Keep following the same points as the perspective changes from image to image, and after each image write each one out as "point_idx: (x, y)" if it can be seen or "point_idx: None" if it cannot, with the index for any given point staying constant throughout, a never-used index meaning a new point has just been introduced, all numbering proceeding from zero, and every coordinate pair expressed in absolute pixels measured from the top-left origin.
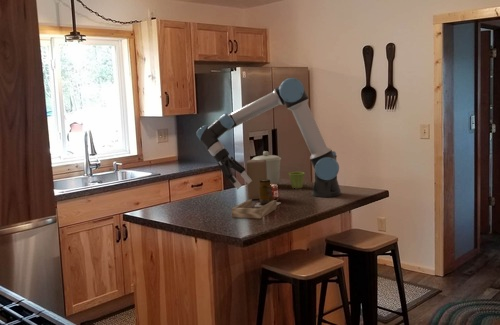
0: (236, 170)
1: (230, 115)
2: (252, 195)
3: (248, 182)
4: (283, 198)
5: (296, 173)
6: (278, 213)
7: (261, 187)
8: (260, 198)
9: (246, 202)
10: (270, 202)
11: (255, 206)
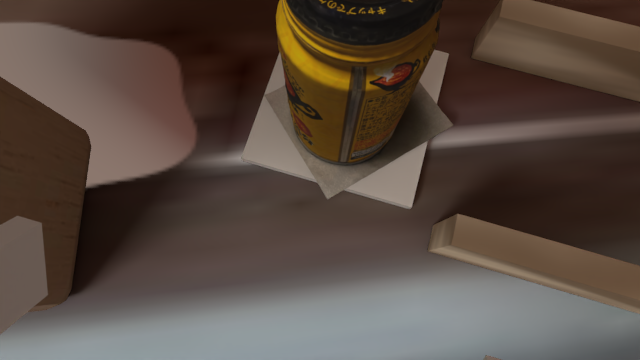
0: None
1: None
2: (56, 257)
3: (32, 284)
4: (105, 7)
5: None
6: (636, 18)
7: (427, 60)
8: (383, 137)
9: (605, 256)
10: (603, 31)
11: (413, 199)
